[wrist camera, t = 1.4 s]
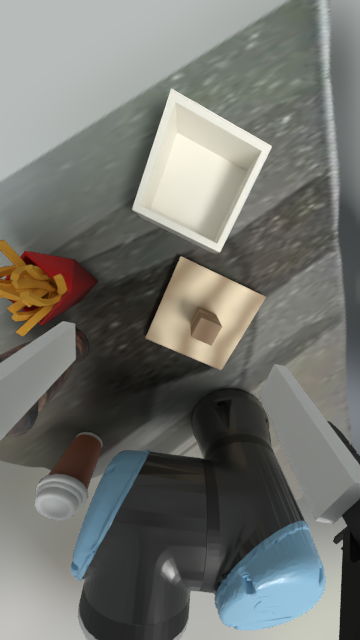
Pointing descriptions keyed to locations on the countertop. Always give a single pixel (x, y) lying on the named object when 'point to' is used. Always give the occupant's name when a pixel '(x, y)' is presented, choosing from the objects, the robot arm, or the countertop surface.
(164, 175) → the white open storage bin
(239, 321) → the lid
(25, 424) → the mortar and pestle
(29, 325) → the french fries
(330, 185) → the countertop surface
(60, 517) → the coffee cup
